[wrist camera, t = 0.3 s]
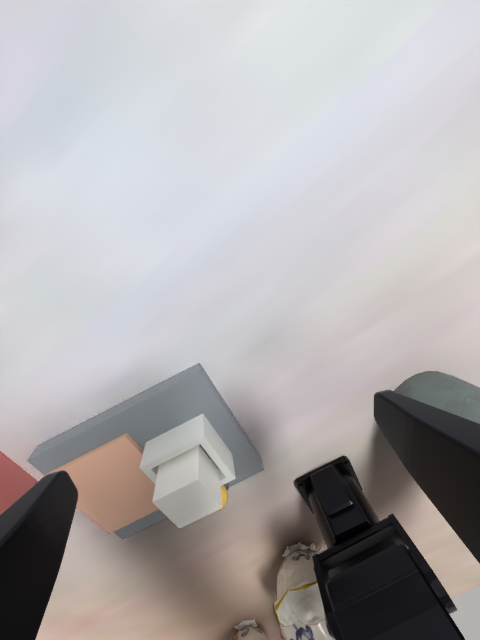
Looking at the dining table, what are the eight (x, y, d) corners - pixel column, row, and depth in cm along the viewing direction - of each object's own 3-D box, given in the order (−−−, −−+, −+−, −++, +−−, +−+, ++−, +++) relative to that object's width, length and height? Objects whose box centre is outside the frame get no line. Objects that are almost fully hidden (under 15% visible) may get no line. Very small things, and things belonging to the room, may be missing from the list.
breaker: (219, 471, 21) (222, 507, 19) (182, 489, 22) (179, 528, 19) (198, 444, 20) (198, 479, 17) (158, 464, 20) (152, 502, 17)
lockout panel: (260, 456, 26) (271, 498, 22) (127, 523, 27) (113, 576, 23) (199, 363, 22) (199, 394, 17) (37, 445, 22) (0, 495, 18)
